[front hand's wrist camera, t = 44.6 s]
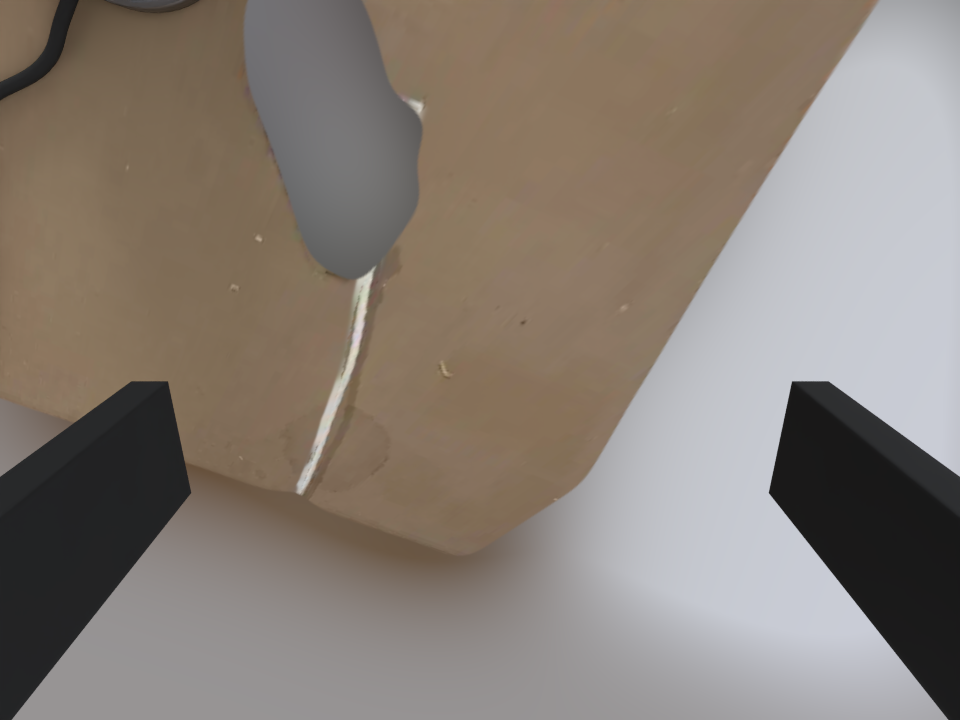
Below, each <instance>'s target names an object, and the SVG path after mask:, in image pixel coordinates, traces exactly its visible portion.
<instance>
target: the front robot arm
mask: <svg viewBox="0 0 960 720" xmlns="http://www.w3.org/2000/svg"><path fill="white" fill-rule="evenodd" d="M105 1H108V2H110V3H113V4H116V5H119V6H122V7H125V8H128V9H132V10H136V11H141V12H150V13H162V12H170V11H175V10H179V9H182V8H184V7H187V6H189V5H191V4H193V3H195V2H197V1H199V0H105ZM77 3H78V0H60V2H59V5H58V7H57V10H56V13H55V16H54V19H53V23H52V27H51V31H50V35H49V39H48V43H47V45H46V47H45V49H44V51H43V53H42V54H41V55H40V57H39V58H38V59H37V60H36V61H35V62H34V63H33V64H32V65H31V66H29V67H28V68H27V69H25V70H23V71H22V72H20V73H18V74H16V75H14V76H12V77H10V78H8V79H6V80H4V81H2V82H0V100H2V99H3V98H5V97H7V96H9V95H11V94H13V93H15V92H17V91H19V90H21V89H23V88H25V87H27V86H29V85H31V84H33V83H35V82H36V81H38V80H39V79H41V78H42V77H43V76H45V75H46V74H47V73H48V72H49V71H50V70H51V69H52V67H53V66H54V65H55V64H56V62H57V61H58V59H59V57H60V55H61V53H62V50H63V47H64V43H65V39H66V35H67V31H68V28H69V25H70V22H71V19H72V16H73V14H74V11H75V8H76V6H77ZM190 494H191V490H190V485H189V480H188V475H187V471H186V466H185V461H184V456H183V451H182V447H181V442H180V437H179V432H178V428H177V423H176V418H175V413H174V408H173V404H172V399H171V394H170V389H169V385H168V381H131V382H130V383H129V384H127V385H126V386H125V387H123V388H122V389H120V390H119V391H118V392H116V393H115V394H114V395H112V396H111V397H109V398H108V399H107V400H105V401H104V402H103V403H101V404H100V405H98V406H97V407H96V408H94V409H93V410H92V411H90V412H89V413H87V414H86V415H85V416H83V417H82V418H81V419H79V420H78V421H76V422H75V423H74V424H72V425H71V426H70V427H68V428H67V429H65V430H64V431H63V432H61V433H60V434H59V435H57V436H56V437H54V438H53V439H52V440H50V441H49V442H48V443H46V444H45V445H43V446H42V447H41V448H39V449H38V450H37V451H35V452H34V453H32V454H31V455H30V456H28V457H27V458H26V459H24V460H23V461H21V462H20V463H19V464H17V465H16V466H15V467H13V468H12V469H10V470H9V471H8V472H6V473H5V474H4V475H2V476H1V477H0V720H12V719H13V717H14V716H15V715H16V714H17V712H18V711H19V710H20V708H21V707H22V706H23V705H24V703H25V702H26V701H27V700H28V698H29V697H30V696H31V694H32V693H33V692H34V691H35V690H36V688H37V687H38V686H39V684H40V683H41V682H42V681H43V679H44V678H45V677H46V676H47V674H48V673H49V672H50V670H51V669H52V668H53V667H54V665H55V664H56V663H57V662H58V660H59V659H60V658H61V657H62V655H63V654H64V653H65V652H66V650H67V649H68V648H69V647H70V645H71V644H72V643H73V641H74V640H75V639H76V638H77V636H78V635H79V634H80V633H81V631H82V630H83V629H84V628H85V626H86V625H87V624H88V623H89V621H90V620H91V619H92V617H93V616H94V615H95V614H96V612H97V611H98V610H99V609H100V607H101V606H102V605H103V604H104V602H105V601H106V600H107V598H108V597H109V596H110V595H111V593H112V592H113V591H114V590H115V588H116V587H117V586H118V585H119V583H120V582H121V581H122V580H123V578H124V577H125V576H126V575H127V573H128V572H129V571H130V569H131V568H132V567H133V566H134V564H135V563H136V562H137V561H138V559H139V558H140V557H141V556H142V554H143V553H144V552H145V550H146V549H147V548H148V547H149V545H150V544H151V543H152V542H153V540H154V539H155V538H156V537H157V535H158V534H159V533H160V532H161V530H162V529H163V528H164V527H165V525H166V524H167V523H168V521H169V520H170V519H171V518H172V516H173V515H174V514H175V513H176V511H177V510H178V509H179V508H180V506H181V505H182V504H183V502H184V501H185V500H186V499H187V497H188V496H189V495H190ZM769 494H770V495H771V496H772V497H773V499H774V500H775V501H776V503H777V504H778V505H779V506H780V508H781V509H782V510H783V511H784V513H785V514H786V515H787V516H788V518H789V519H790V520H791V521H792V523H793V524H794V525H795V526H796V528H797V529H798V530H799V532H800V533H801V534H802V535H803V537H804V538H805V539H806V540H807V542H808V543H809V544H810V545H811V547H812V548H813V549H814V551H815V552H816V553H817V554H818V556H819V557H820V558H821V559H822V561H823V562H824V563H825V564H826V566H827V567H828V568H829V569H830V571H831V572H832V573H833V575H834V576H835V577H836V578H837V580H838V581H839V582H840V583H841V585H842V586H843V587H844V588H845V590H846V591H847V592H848V593H849V595H850V596H851V597H852V598H853V600H854V601H855V602H856V604H857V605H858V606H859V607H860V609H861V610H862V611H863V612H864V614H865V615H866V616H867V617H868V619H869V620H870V621H871V623H872V624H873V625H874V626H875V627H876V629H877V630H878V631H879V633H880V634H881V635H882V636H883V638H884V639H885V640H886V641H887V643H888V644H889V645H890V647H891V648H892V649H893V650H894V652H895V653H896V654H897V655H898V657H899V658H900V659H901V660H902V662H903V663H904V664H905V666H906V667H907V668H908V669H909V670H910V672H911V673H912V674H913V676H914V677H915V678H916V679H917V681H918V682H919V683H920V684H921V686H922V687H923V688H924V689H925V691H926V692H927V693H928V695H929V696H930V697H931V698H932V700H933V701H934V702H935V703H936V705H937V706H938V707H939V708H940V710H941V711H942V712H943V713H944V715H945V716H946V717H947V719H948V720H960V477H959V476H958V475H956V474H955V473H954V472H952V471H951V470H950V469H948V468H947V467H945V466H944V465H943V464H941V463H940V462H939V461H937V460H936V459H934V458H933V457H932V456H930V455H929V454H928V453H926V452H925V451H923V450H922V449H921V448H919V447H918V446H917V445H915V444H914V443H912V442H911V441H910V440H908V439H907V438H906V437H904V436H903V435H901V434H900V433H899V432H897V431H896V430H895V429H893V428H892V427H890V426H889V425H888V424H886V423H885V422H884V421H882V420H881V419H879V418H878V417H877V416H875V415H874V414H873V413H871V412H870V411H868V410H867V409H866V408H864V407H863V406H862V405H860V404H859V403H857V402H856V401H855V400H853V399H852V398H851V397H849V396H848V395H846V394H845V393H844V392H842V391H841V390H840V389H838V388H837V387H835V386H834V385H833V384H831V383H830V382H828V381H821V382H820V381H819V382H818V381H817V382H816V381H808V382H807V381H805V382H804V381H801V382H800V381H793V382H792V385H791V389H790V394H789V399H788V404H787V408H786V413H785V418H784V423H783V428H782V432H781V437H780V442H779V447H778V451H777V456H776V461H775V466H774V471H773V476H772V480H771V485H770V490H769Z"/></svg>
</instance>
